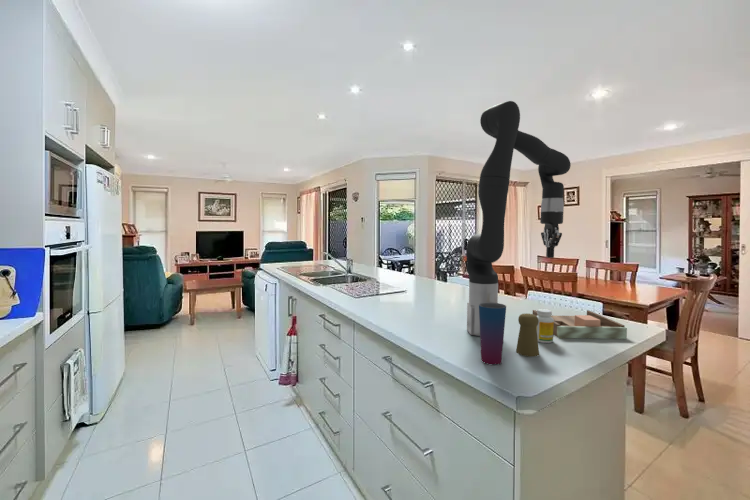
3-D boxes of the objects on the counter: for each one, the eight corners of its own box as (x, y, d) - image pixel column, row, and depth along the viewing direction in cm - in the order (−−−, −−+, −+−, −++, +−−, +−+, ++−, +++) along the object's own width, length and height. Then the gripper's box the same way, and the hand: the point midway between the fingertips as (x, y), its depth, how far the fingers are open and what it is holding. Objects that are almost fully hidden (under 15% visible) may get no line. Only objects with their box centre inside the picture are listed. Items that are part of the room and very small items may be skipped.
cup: (473, 356, 94) (474, 302, 93) (498, 356, 95) (499, 302, 94) (483, 366, 87) (484, 308, 86) (509, 365, 88) (511, 307, 87)
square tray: (558, 337, 110) (558, 325, 110) (532, 320, 131) (532, 310, 131) (626, 338, 109) (627, 326, 109) (589, 321, 130) (589, 310, 130)
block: (584, 330, 111) (584, 319, 111) (574, 325, 117) (574, 315, 117) (600, 330, 111) (600, 320, 111) (589, 325, 117) (589, 315, 117)
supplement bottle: (530, 339, 109) (530, 309, 108) (541, 337, 111) (542, 307, 111) (545, 344, 104) (546, 313, 103) (556, 341, 106) (557, 311, 106)
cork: (541, 357, 94) (543, 317, 93) (518, 355, 95) (519, 316, 94) (536, 349, 100) (537, 312, 99) (514, 348, 101) (514, 311, 100)
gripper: (534, 211, 134) (532, 256, 135) (549, 209, 121) (547, 258, 122) (554, 212, 134) (552, 256, 135) (571, 210, 121) (568, 259, 122)
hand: (549, 257), depth 129 cm, fingers closed
